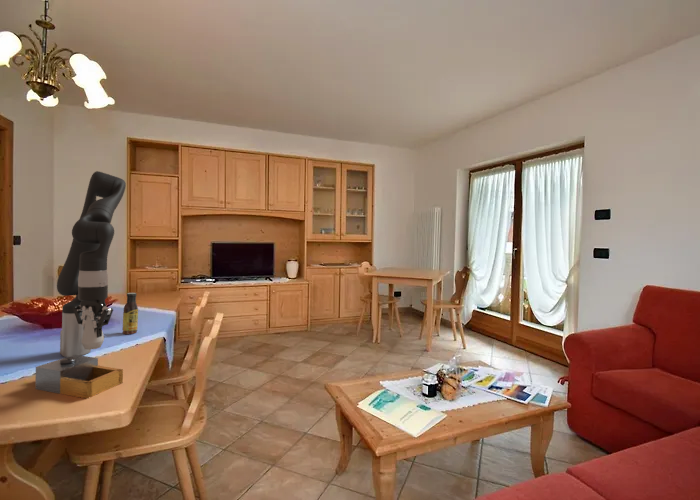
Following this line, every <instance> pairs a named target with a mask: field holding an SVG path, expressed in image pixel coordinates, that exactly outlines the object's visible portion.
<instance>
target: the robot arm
mask: <svg viewBox="0 0 700 500" xmlns="http://www.w3.org/2000/svg"><path fill="white" fill-rule="evenodd" d="M126 185H127V184H126V181H125V179H123V178H120V177H118V176H115V175H113V174H109V173H106V172H103V171H98V170H96V171H94V172H93V173H92V174H91V177H90V179H89V183H88V186H87V190H86V195H85V200H84V203H83V206H82V207H83V208H82V211H81V214H80V217H79V218H78V220H77V221H76V222H75V223H74V225H72V228H71V229H72V230H71V236H72V242H71V244H70V245H71V246H70V248H69V251H68V254H67V257H66V260H65V262H64V264H63V266H62V268H61V270H60V273H59V274H58V278H57V282H56V290H57V292H58V294H59V295H61V296H65V297H66V296H75V297H74V298H73V299H72V300H70V301H68V302H67V303H64V304H63V306H62V307H61V310H62V311H61V316H62V317H61V318H62V319H61V322H62V323H61V330H60V332H59V333H60V337H59V338H60V339H59V341H60V342H59V343H60V344H59V354H60V355H61V356H62V357H64V358H66V357H69V356H72V355H80V356H85V355H87V354H89V353H91V352H92V349H91V350H87V349H84V347H83V345H82V342H81V341H82V337H83V332H84V327H85V323H86V318H87V315H85V310H86V309H87V308H89V312H91V315H90V316H91V321H93V326H94V332H95V331H96V332H97V338H98V337H101V336H102V331H103V327H104V326H107V325H109V322H110V320H111V317H112V315H113V312H114V308H112V307H111V308H109V307H108V306H107V303H106V299H108V298H109V297H108V293H109V291H108V290H109V289H108V288H109V287H108V286H109V276H108V275H109V273H108V257H109V251H110V247H111V244H112V242H113V240H114V239H113V238H114V235H115V227H114V226H113V225H112V224H111V223H112V220H113V216H114V213H115V210H116V209H117V208H118V206H119V204H120V203H121V201H122V199H123V196H124V194H125V191H126ZM97 197H99V199H97ZM96 316H99V317H97V318H96ZM97 320H99V323H97ZM99 334H100V335H99Z"/></svg>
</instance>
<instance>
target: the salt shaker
mask: <svg viewBox="0 0 700 500" xmlns="http://www.w3.org/2000/svg"><path fill="white" fill-rule="evenodd" d="M85 315H87V318H86V323H85V327H84V332H83V337H82V341H81V342H82V345H83V347H84V349H87V350H91V351H92V350H96V349H100V348H101V347H102V345H103V343H104V340H105V335H104V332H103V330H102V336H101V337H98V338H97V332H96V331H95V332H94V326H93V321H91V316H90V315H91V312H89V308H87V309H86V310H85ZM97 317H99V316H96V318H97ZM97 323H99V320H97ZM99 335H100V334H99Z"/></svg>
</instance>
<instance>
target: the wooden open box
mask: <svg viewBox="0 0 700 500" xmlns="http://www.w3.org/2000/svg"><path fill="white" fill-rule="evenodd" d="M98 359H99V358H98V357H94V356H93V357H92V356H86V355H72V356H69V357H63V358H60V359H57V360H54V361H51V362H47V363H43V364H41V365H37V366H35V388H34V389H35V390H39V391H44V392H49V393H50V392H51V393H55V394H60V395H64V396H70V397H77V398H80V397H81V398H82V399H86V398H88V399H90V398H92V397H94V396H96V394H97V395H99V394H101V393H103V392H105V391H108V390H110V389H112V388H115V387H116V386H119V385H121V384H123V383H124V382H123V379H124V370H123V369H121V368H117V367H116V368H115V367H109V366H104V365H99V360H98ZM89 397H90V398H89Z"/></svg>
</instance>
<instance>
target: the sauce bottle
mask: <svg viewBox="0 0 700 500" xmlns="http://www.w3.org/2000/svg"><path fill="white" fill-rule="evenodd" d="M138 320H139V308H138V303H137V293H136V292H128V293H126V303H125V305H124V306H123V313H122V334H123V335H133V334H137V332H138V323H139V321H138Z"/></svg>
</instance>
